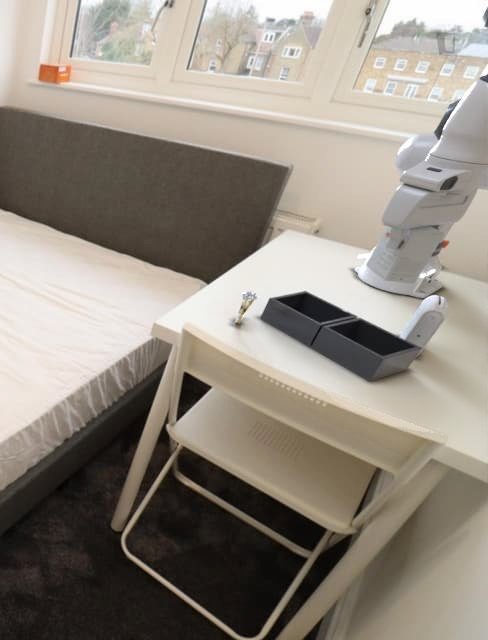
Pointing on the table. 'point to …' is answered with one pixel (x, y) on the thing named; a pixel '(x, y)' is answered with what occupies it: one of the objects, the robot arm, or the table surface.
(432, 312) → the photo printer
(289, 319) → the basin
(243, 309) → the ring
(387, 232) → the small box
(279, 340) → the table surface
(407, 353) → the basin
